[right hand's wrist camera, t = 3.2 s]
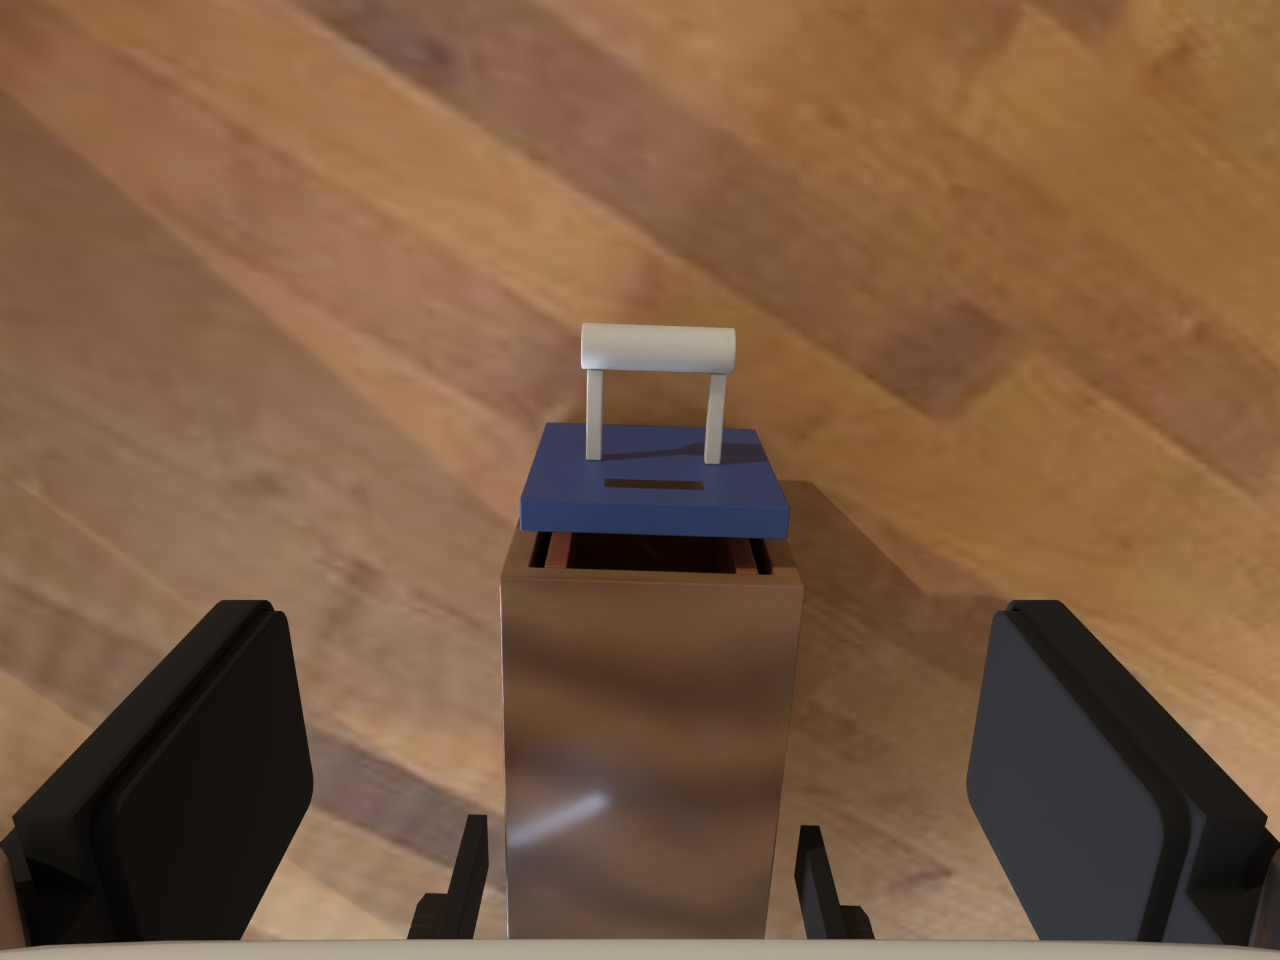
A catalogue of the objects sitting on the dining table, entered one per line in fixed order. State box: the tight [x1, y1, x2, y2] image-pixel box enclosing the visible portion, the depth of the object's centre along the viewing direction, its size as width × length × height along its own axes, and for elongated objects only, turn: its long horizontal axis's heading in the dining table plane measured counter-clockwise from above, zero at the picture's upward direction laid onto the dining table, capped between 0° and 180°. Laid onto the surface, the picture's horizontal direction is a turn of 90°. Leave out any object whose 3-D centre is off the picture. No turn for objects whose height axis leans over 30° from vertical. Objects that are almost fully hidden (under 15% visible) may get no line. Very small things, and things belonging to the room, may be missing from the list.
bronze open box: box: [499, 517, 805, 939], centre depth 37 cm, size 16×10×11 cm, turn 178°
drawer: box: [520, 323, 790, 575], centre depth 35 cm, size 20×9×9 cm, turn 178°
